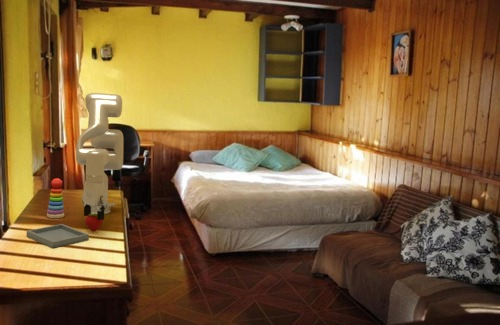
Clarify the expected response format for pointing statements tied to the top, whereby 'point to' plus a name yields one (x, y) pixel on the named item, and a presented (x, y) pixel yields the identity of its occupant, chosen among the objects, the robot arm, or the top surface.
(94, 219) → the strawberry
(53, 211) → the stacking toy
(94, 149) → the robot arm
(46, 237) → the tray
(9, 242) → the top surface
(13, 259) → the top surface
